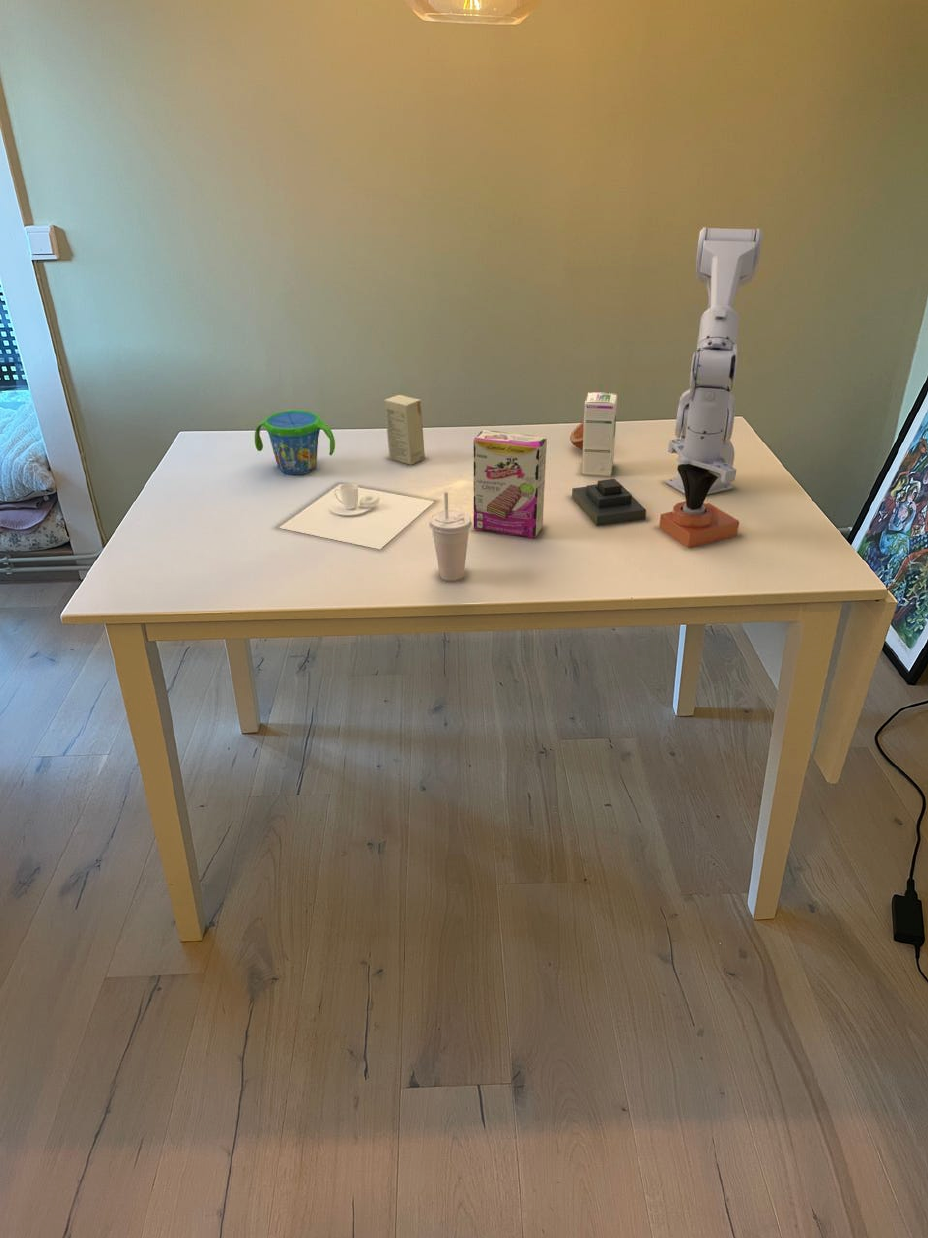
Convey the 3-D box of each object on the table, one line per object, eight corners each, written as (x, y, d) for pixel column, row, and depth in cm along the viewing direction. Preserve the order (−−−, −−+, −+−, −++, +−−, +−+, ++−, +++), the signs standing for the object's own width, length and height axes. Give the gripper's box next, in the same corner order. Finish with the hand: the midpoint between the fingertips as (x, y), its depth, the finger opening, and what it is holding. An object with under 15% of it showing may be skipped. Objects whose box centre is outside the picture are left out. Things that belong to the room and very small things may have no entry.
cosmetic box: (425, 459, 174) (423, 399, 168) (410, 465, 172) (407, 405, 165) (402, 451, 178) (399, 393, 171) (387, 458, 175) (383, 398, 169)
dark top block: (613, 487, 154) (614, 478, 153) (620, 494, 152) (621, 485, 151) (596, 489, 153) (597, 480, 153) (603, 497, 151) (604, 487, 150)
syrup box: (611, 476, 166) (617, 402, 158) (580, 474, 167) (584, 400, 159) (613, 465, 171) (619, 392, 163) (582, 463, 172) (587, 391, 164)
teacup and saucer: (385, 503, 157) (383, 482, 155) (362, 521, 151) (361, 499, 149) (343, 495, 160) (341, 474, 158) (320, 512, 154) (317, 491, 152)
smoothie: (430, 566, 137) (426, 484, 130) (470, 563, 138) (469, 482, 130) (432, 586, 132) (429, 502, 125) (474, 584, 132) (473, 500, 125)
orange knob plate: (706, 516, 151) (710, 492, 148) (737, 535, 145) (741, 511, 142) (658, 528, 147) (661, 504, 145) (687, 548, 141) (691, 523, 139)
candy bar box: (472, 531, 147) (471, 438, 139) (481, 518, 151) (481, 428, 143) (536, 540, 144) (539, 446, 135) (544, 527, 148) (547, 435, 139)
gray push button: (694, 511, 146) (696, 500, 145) (708, 520, 143) (709, 509, 142) (677, 516, 145) (678, 504, 144) (690, 524, 142) (691, 513, 141)
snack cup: (345, 462, 174) (340, 412, 168) (324, 482, 165) (318, 431, 160) (274, 454, 178) (267, 406, 172) (249, 475, 169) (241, 424, 164)
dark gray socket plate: (617, 491, 160) (619, 474, 158) (645, 519, 150) (647, 501, 148) (571, 497, 158) (572, 479, 156) (596, 526, 148) (598, 507, 146)
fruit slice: (605, 457, 174) (607, 433, 171) (572, 457, 174) (573, 433, 171) (599, 441, 181) (601, 418, 178) (567, 442, 181) (568, 419, 178)
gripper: (656, 417, 140) (648, 495, 147) (714, 447, 129) (702, 529, 136) (692, 410, 142) (682, 487, 149) (752, 439, 131) (738, 520, 138)
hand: (694, 507), depth 143 cm, fingers closed, pressing on gray push button
